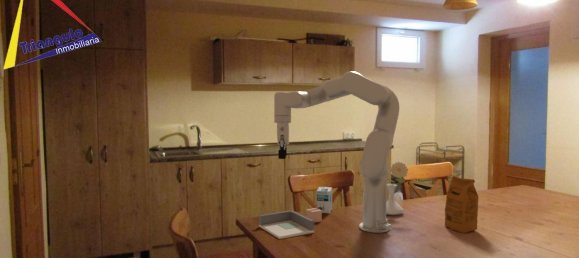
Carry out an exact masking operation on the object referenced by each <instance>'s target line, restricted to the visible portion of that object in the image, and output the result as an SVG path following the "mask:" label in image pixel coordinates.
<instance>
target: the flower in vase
mask: <svg viewBox="0 0 579 258" xmlns="http://www.w3.org/2000/svg"><path fill="white" fill-rule="evenodd" d="M389 171H390V173H391V174H392V176H393V177H395V178H396V179H395V181H394V180H392V179H390V178H388V177H387V181H389V182H392V183H387V190H388V199H387V204H386V215H390V216H391V215H392V216H396V215H401V214H403V213H404V212H405V210H404V208H403V207H402V206H401V205H400V204H398V202H397V201H396V200H395V191H396V188H397V186H398V184H397V183H396V181H397V182H398V183H400V184H403V183H406V182H407V181H406V179H405V178H404V177H406V176H407V174H408V171H409V169H408V167H407V166H406V164H405V163H403V162H401V161H397V162H394V163H392V164H391V167H390V170H389ZM395 183H396V184H395Z"/></svg>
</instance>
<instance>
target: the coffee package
mask: <svg viewBox="0 0 579 258" xmlns="http://www.w3.org/2000/svg"><path fill="white" fill-rule="evenodd" d="M475 182H476V181H475V179H473V178H462V177H459V176H457V175H455V174H454V175H452V178H451V180H450V183H449V187H448V190H447V192H446V200H445V207H444V227H445V226H446V227H445V228H448V227H449V229H451V230H452V231H453V230H455V231H454V232H457V231H459V232H458V233H461V232H462V234H466V233H469V232H473V231H474V232H475V231H477V230H478V215H479V213H478V210H479V194H478V191H477V189H476V187H475Z"/></svg>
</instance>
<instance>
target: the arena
mask: <svg viewBox="0 0 579 258" xmlns="http://www.w3.org/2000/svg"><path fill="white" fill-rule="evenodd" d="M258 217H259V218H258V219H259V222H258V224H259V226H258V227H259V228H260V229H262V230H263V231H266V232H267V233H269V234H270V235H271V236H273V237H275V238H277V239H279V240H282V239H288V238H293V237H298V236H302V235H308V234H314V233H315V223H314V220H312V219H310V218H308V217H306V215H303V214H301V213H299V212H296V211H295V210H293V209H291V210H285V211H278V212H271V213H270V212H269V213H266V214H259V215H258Z"/></svg>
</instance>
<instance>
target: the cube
mask: <svg viewBox="0 0 579 258" xmlns="http://www.w3.org/2000/svg"><path fill="white" fill-rule="evenodd" d="M322 214H323V213H322V210H319V209H317V207H313V208H307V209H306V210H305V216H306V217H308V218H310V219H312V220H314V224H315V223H321V222H322V220H323V219H322Z"/></svg>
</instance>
